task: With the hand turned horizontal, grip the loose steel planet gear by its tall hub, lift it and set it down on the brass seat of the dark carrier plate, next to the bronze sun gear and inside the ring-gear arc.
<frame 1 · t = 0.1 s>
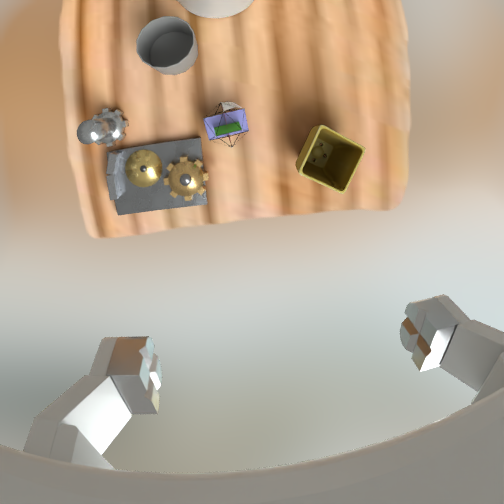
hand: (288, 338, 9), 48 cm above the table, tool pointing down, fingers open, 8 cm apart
carrier: (157, 176, 53), on the table
flower pot: (315, 151, 54), on the table
sun gear: (187, 175, 53), resting on carrier
cup: (173, 53, 43), on the table
geometric puzzle: (225, 123, 50), on the table
planet gear: (110, 126, 47), on the table
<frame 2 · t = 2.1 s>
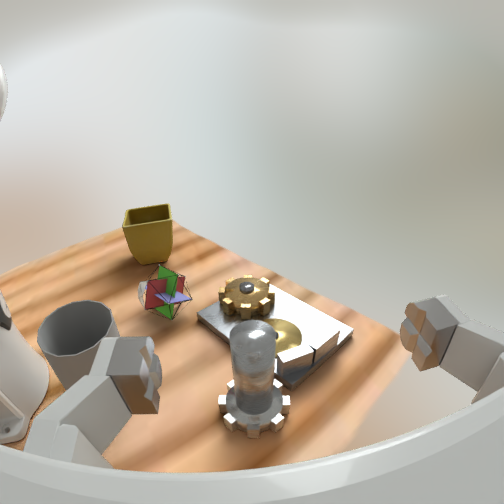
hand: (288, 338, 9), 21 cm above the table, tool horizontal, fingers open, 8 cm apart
carrier: (273, 329, 40), on the table
flower pot: (154, 258, 57), on the table
sun gear: (247, 309, 44), resting on carrier
cup: (106, 391, 30), on the table
geometric puzzle: (169, 311, 44), on the table
planet gear: (254, 410, 29), on the table
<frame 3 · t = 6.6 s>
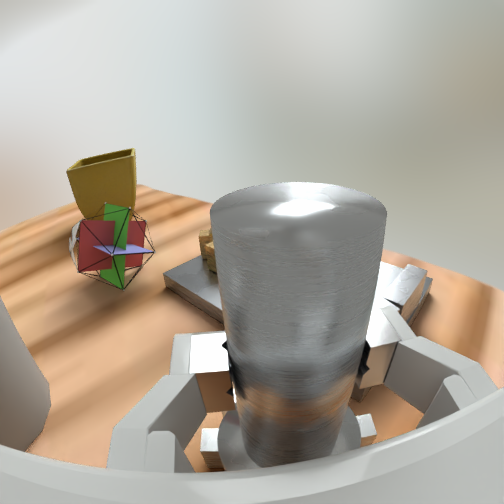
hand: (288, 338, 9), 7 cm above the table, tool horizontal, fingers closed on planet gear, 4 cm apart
carrier: (298, 291, 23), on the table
flower pot: (114, 221, 40), on the table
sun gear: (249, 266, 26), resting on carrier
cup: (1, 410, 12), on the table
geometric puzzle: (122, 279, 26), on the table
planet gear: (288, 455, 11), on the table, touching gripper
when the fingers open (9 cm above the table, at t = 11.1 s): planet gear stays where it is, resting on carrier.
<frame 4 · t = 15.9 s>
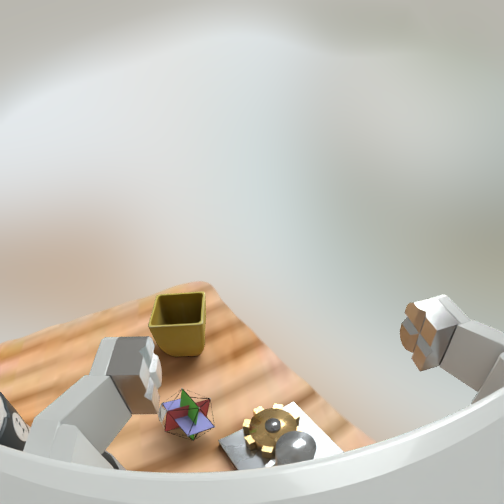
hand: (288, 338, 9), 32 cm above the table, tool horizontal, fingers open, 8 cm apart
carrier: (294, 468, 31), on the table
flower pot: (187, 348, 53), on the table
sun gear: (273, 438, 36), resting on carrier
geometric puzzle: (192, 427, 38), on the table
planet gear: (290, 483, 28), point 2 cm above the table, touching carrier
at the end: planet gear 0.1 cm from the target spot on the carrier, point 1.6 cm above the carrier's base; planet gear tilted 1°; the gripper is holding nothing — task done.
